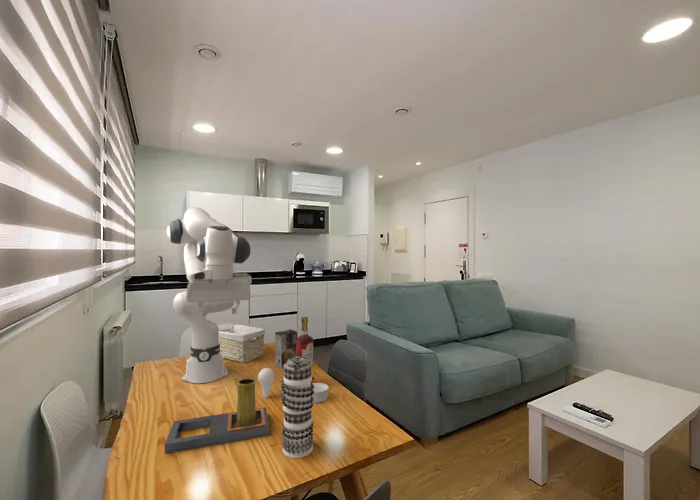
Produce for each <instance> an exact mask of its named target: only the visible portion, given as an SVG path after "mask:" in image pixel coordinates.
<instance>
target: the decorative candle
mask: <svg viewBox="0 0 700 500" xmlns="http://www.w3.org/2000/svg"><path fill="white" fill-rule="evenodd" d="M313 365H314V364H313V362H312V363H311V362H310V361H309V360H308V359H307V358H305V357H293V358H290V359H289V360H288V361H287V363H285V364H284V365H283V366H284V368H283V372H284V375H283V377H282V379H281V380H280V382H281V387H280V388H281V389H280V390H281V392H282V393H281V396H282V397H281V400H282V401H281V403H282V411H283V412H284V413H283V415H284V416H283V424H282V435H283V436H282V453H283V454H284V456H285V457H288V458H290V459H299V458H304V457H307V456H309V454H311V453H312V452H313V449H314V442H313V441H314V434H313V432H314V428H313V427H314V421H313V415H312V410H313V408H314V403H312V402H313V400H314V399H313V397H312V395H313V394H314V391H313V388H314V385H313V384H312V383H313V382H312V383H311V381H312V380H313V381H314V380H315V377H314V376H313V373H312V374H311V366H312V367H313Z"/></svg>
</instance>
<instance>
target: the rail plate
mask: <svg viewBox="0 0 700 500" xmlns="http://www.w3.org/2000/svg"><path fill="white" fill-rule="evenodd" d="M267 408H268V407H266V406H265V407H259V408H255V409H256V420H258V419H260V423H259V424H258V423H256V425H251V426H245V427H238V428H236V427H232V426H233V425H232V424H236V423H237V411H232V412H226V413H218V414H212V415H207V416H201V417H199V416H198V417H192V418H185V419H179V420H175V421H173V422H172V425H171V428H170V430H169V433H168V436H167V438H166V440H165V443H164V454H165V453H166V454H171V453H175V451H177V452H182V451H181V450H183V451H187V450H188V451H189V450H193V449H198V448H204V447H210V446H215V445H221V444H226V443H227V444H228V443H233V442H237V441H238V442H239V441H244V440H249V439H254V438H255V439H256V438H262V437H267V436H270V423H269V416H268V410H267ZM204 428H209V431H208V433H203V434H197V435H191V436H185V437H179V435H180V433H181V432H185V431H191V430H195V429H196V430H197V429H204ZM179 432H180V433H179ZM170 452H171V453H170Z"/></svg>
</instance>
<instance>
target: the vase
mask: <svg viewBox="0 0 700 500" xmlns="http://www.w3.org/2000/svg"><path fill="white" fill-rule="evenodd" d="M255 384H256V379H255V378H252V377H251V378H249V377H248V378H243V379H240V380H238V382H237V408H236V409H237V410H236V412H237V422H236V423H235V428H238V427H245V426H251V425H257V419H256V409H257V408H256V385H255Z"/></svg>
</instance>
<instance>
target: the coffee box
mask: <svg viewBox="0 0 700 500" xmlns="http://www.w3.org/2000/svg"><path fill="white" fill-rule="evenodd" d="M274 332H275V331H274ZM274 335H275V338H274V339H275V340H274V341H275V342H274V343H275V346H274V347H275V352H274V353H275V366H277V367H279V368H280V369H284V366H283V365H284V364H285V363H287V361H288V360H289V359H290V358H293V357H297V355H296V339H297V338H298V331H296V330H294V329H290V328H289V329H286V330H281V331H280V330H279V331H276V332H275V334H274Z"/></svg>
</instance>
